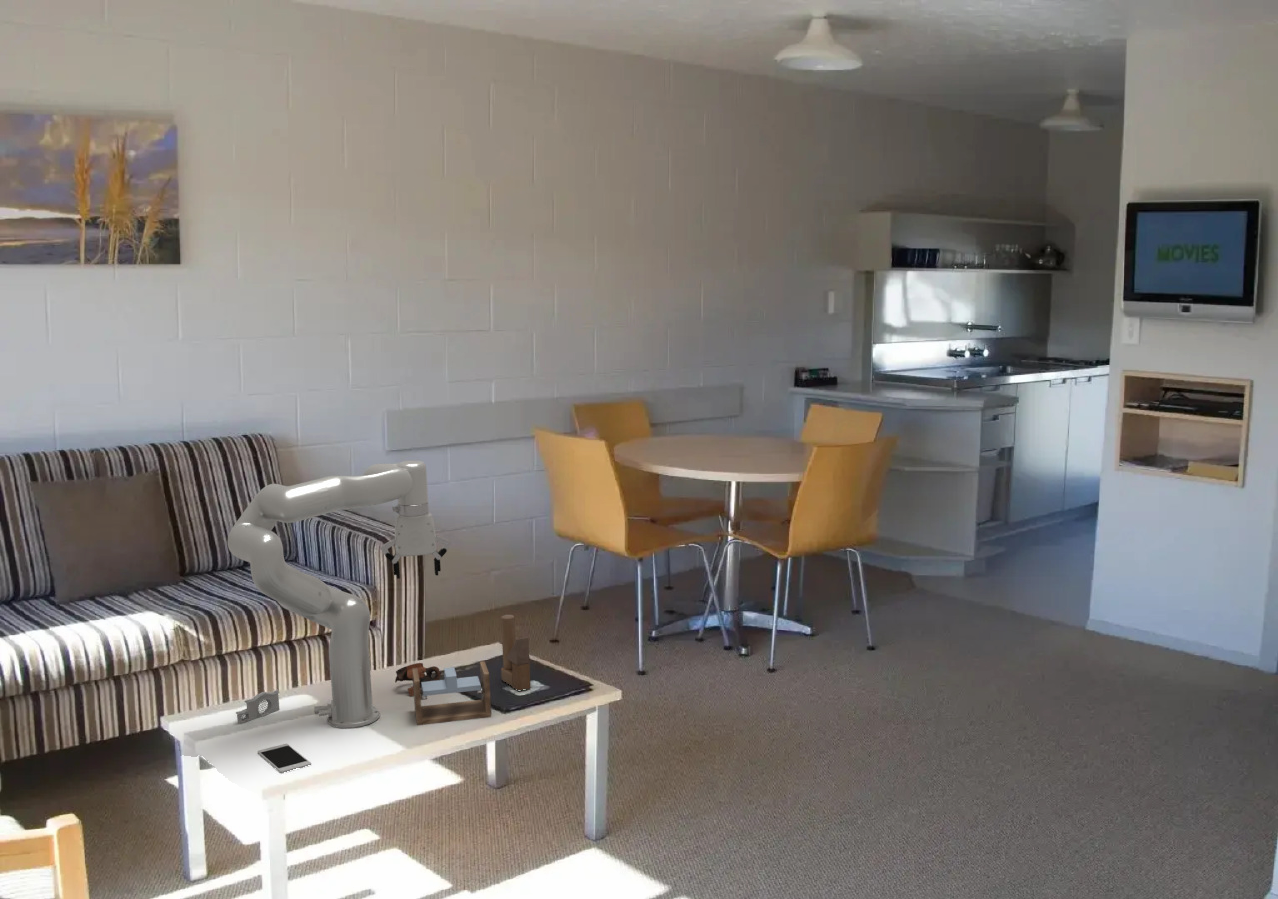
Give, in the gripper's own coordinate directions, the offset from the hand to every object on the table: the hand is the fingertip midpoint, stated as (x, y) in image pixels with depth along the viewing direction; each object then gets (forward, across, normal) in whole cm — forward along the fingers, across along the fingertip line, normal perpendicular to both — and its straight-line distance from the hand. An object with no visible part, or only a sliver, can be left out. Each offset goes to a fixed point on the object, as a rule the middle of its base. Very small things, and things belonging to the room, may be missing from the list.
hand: (417, 575), depth 310 cm
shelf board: (+26, +6, -14) cm, 30 cm away
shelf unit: (+32, +6, -14) cm, 36 cm away
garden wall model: (+33, -41, 0) cm, 52 cm away
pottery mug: (+33, -1, +7) cm, 33 cm away
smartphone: (+33, -34, -30) cm, 56 cm away
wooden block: (+32, +24, +2) cm, 40 cm away
